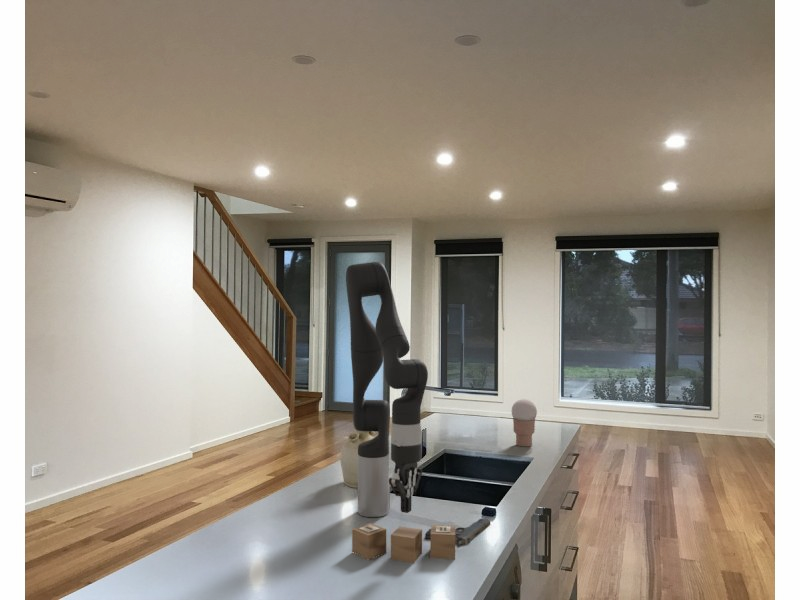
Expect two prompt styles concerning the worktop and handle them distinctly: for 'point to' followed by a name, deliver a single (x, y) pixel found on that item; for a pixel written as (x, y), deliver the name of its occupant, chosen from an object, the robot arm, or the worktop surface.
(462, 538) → the pistol
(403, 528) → the plain block
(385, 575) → the worktop surface
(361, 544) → the labelled block
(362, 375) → the robot arm
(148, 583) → the worktop surface
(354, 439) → the jug
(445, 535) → the labelled block
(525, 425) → the ice cream cone
